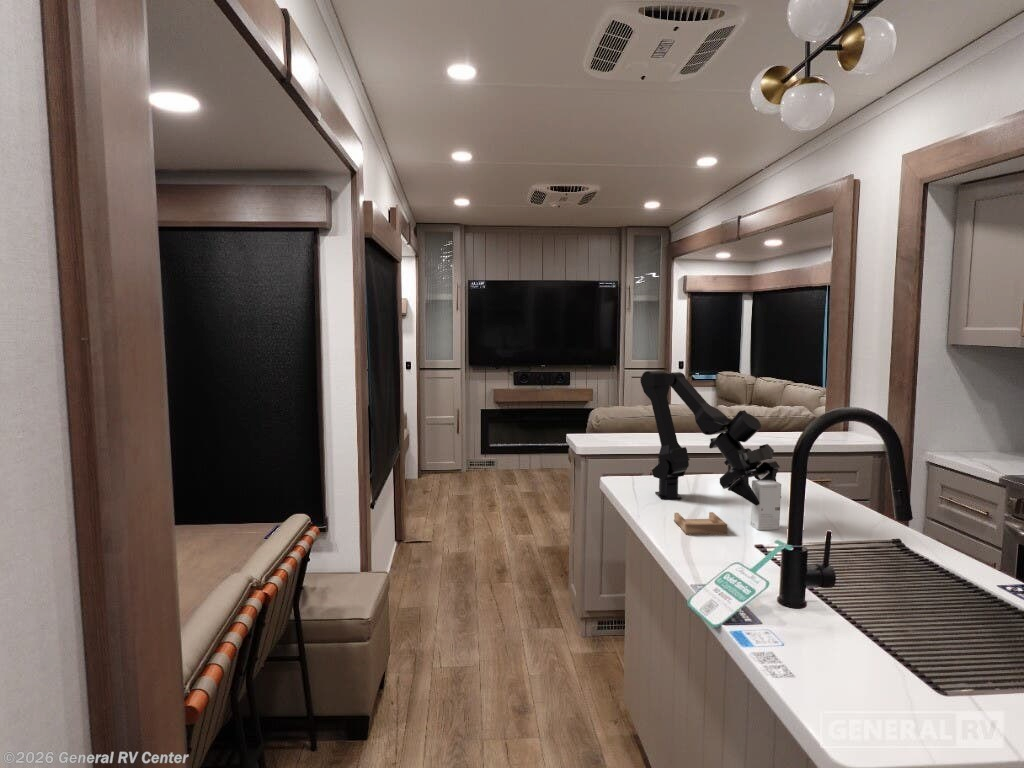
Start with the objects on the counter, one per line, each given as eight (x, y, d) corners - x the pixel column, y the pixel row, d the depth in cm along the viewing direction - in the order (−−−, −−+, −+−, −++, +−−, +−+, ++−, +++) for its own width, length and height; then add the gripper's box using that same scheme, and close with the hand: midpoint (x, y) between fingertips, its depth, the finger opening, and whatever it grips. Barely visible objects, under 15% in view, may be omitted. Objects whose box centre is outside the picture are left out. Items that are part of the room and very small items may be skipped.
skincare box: (758, 530, 152) (760, 484, 150) (749, 525, 156) (750, 480, 155) (780, 529, 153) (782, 483, 151) (770, 523, 157) (772, 479, 156)
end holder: (673, 521, 159) (673, 512, 159) (711, 520, 160) (712, 511, 159) (686, 534, 149) (686, 525, 149) (727, 534, 149) (727, 524, 149)
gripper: (730, 438, 151) (768, 490, 142) (774, 431, 161) (812, 479, 152) (704, 463, 158) (738, 514, 150) (748, 454, 168) (782, 502, 160)
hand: (769, 501), depth 153 cm, fingers open, 9 cm apart
